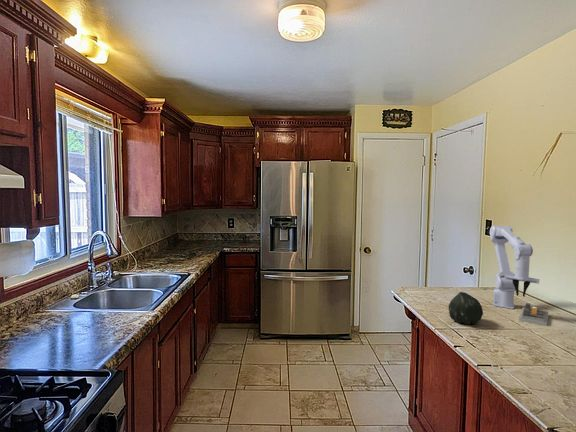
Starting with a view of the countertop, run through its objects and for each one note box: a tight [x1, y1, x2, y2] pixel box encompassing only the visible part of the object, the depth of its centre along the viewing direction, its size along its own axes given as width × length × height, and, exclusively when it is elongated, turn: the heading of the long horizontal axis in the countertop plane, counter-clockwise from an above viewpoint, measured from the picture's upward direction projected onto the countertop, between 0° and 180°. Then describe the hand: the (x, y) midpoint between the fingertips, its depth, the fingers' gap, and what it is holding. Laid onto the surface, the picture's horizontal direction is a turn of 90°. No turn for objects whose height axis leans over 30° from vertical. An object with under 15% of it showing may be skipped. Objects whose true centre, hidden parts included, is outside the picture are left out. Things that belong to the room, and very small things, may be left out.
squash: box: [447, 291, 484, 325], centre depth 175 cm, size 14×15×15 cm
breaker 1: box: [524, 302, 532, 310], centre depth 188 cm, size 2×2×3 cm
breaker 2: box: [523, 307, 529, 316], centre depth 179 cm, size 2×2×3 cm
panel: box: [518, 307, 549, 327], centre depth 182 cm, size 11×19×2 cm, turn 143°
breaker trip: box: [531, 306, 538, 315], centre depth 181 cm, size 2×2×4 cm
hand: (520, 295), depth 185 cm, fingers closed
